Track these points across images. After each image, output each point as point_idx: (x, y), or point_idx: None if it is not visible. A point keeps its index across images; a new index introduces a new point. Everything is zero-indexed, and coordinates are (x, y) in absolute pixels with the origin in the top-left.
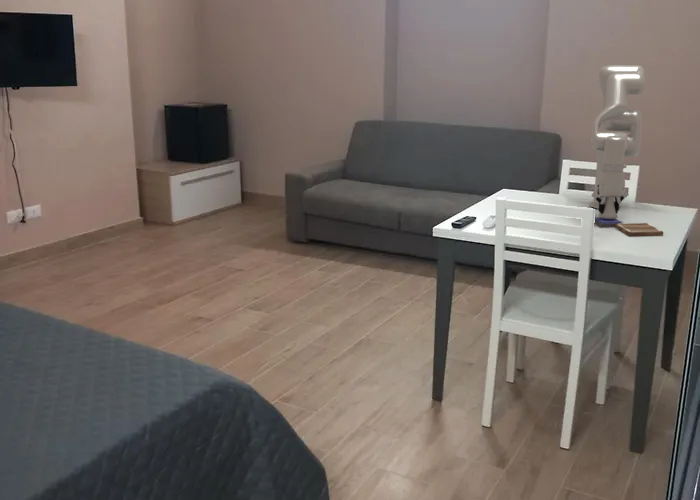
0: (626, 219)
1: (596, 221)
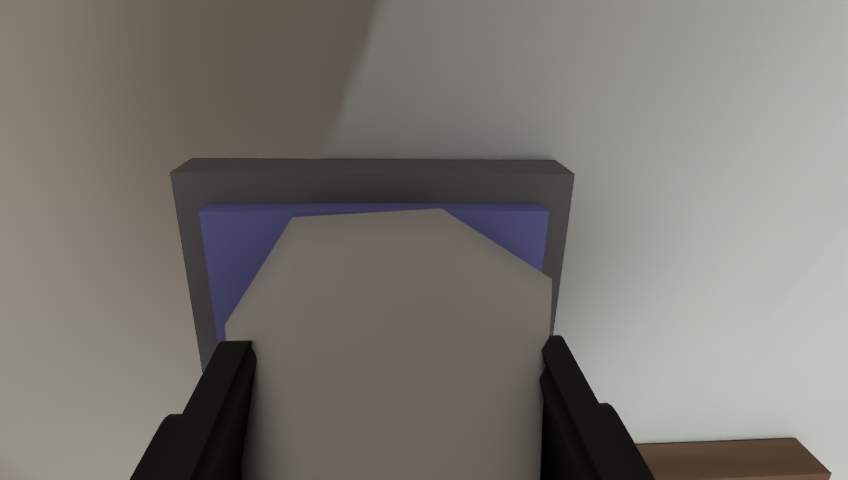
0: (817, 60)
1: (199, 349)
